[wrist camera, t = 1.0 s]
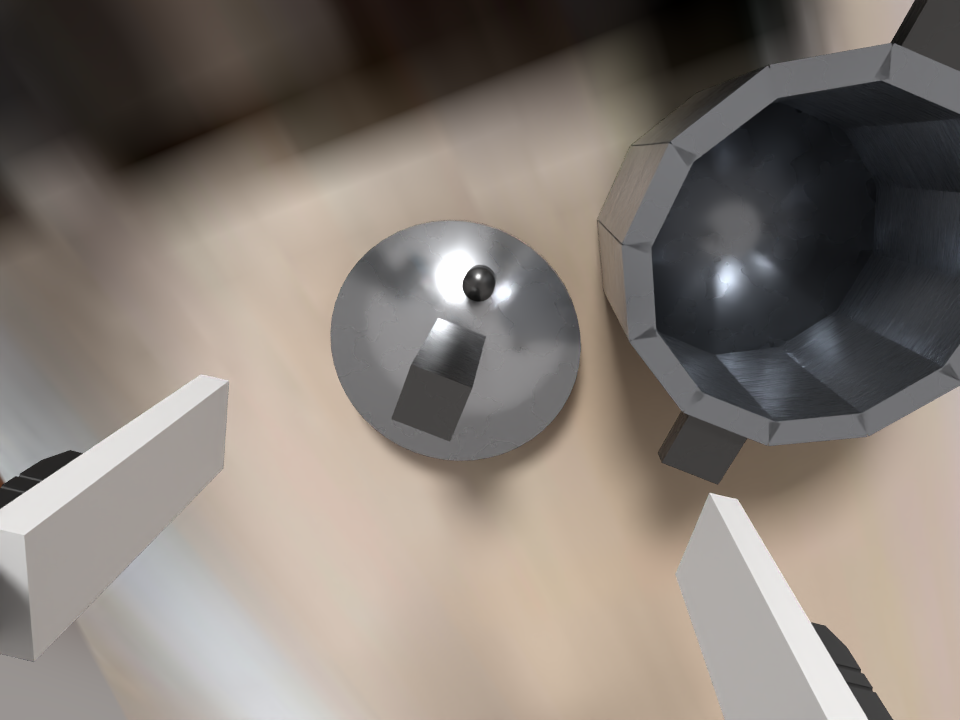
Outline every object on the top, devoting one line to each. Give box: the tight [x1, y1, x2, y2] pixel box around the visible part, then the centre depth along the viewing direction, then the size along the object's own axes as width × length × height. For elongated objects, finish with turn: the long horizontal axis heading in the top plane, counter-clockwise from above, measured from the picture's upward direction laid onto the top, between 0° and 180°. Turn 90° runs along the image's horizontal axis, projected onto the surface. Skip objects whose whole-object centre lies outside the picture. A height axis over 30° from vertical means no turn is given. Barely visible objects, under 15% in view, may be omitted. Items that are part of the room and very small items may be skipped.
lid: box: [331, 220, 581, 461], centre depth 32 cm, size 15×15×11 cm
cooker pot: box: [597, 0, 960, 484], centre depth 28 cm, size 16×22×10 cm
